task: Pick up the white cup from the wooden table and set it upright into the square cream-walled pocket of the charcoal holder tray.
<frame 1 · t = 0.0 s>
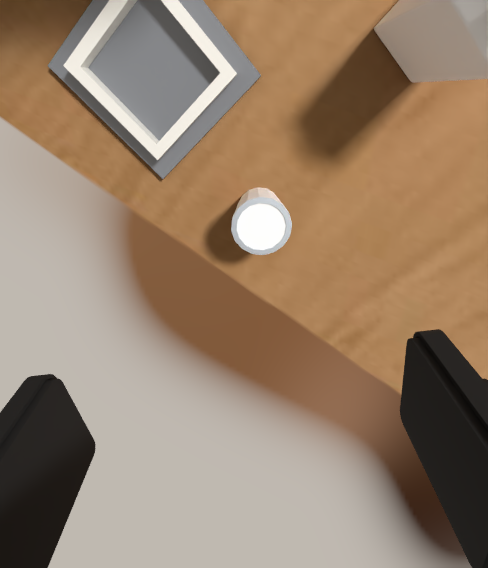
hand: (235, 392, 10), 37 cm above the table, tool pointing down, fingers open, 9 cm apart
white cup: (259, 208, 45), on the table
holder tray: (156, 71, 38), on the table
milk carton: (420, 27, 36), on the table
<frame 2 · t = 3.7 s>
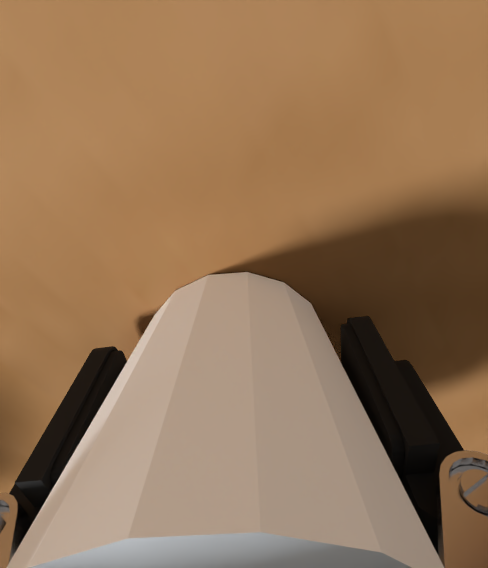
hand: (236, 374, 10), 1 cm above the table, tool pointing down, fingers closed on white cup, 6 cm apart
white cup: (237, 345, 11), on the table, touching gripper
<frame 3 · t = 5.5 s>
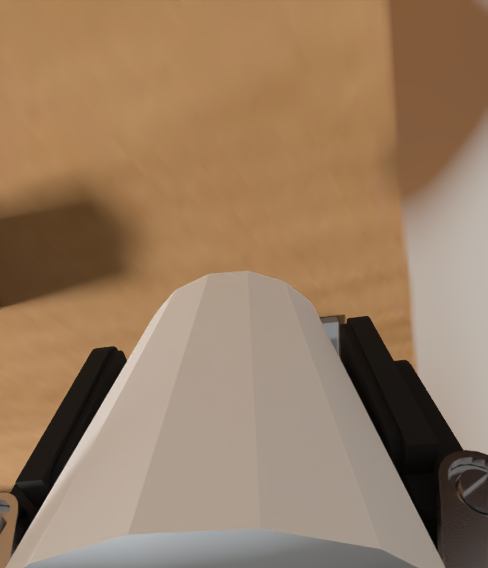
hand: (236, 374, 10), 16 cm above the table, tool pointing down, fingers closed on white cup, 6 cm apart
white cup: (237, 344, 11), point 15 cm above the table, touching gripper
holder tray: (253, 392, 34), on the table
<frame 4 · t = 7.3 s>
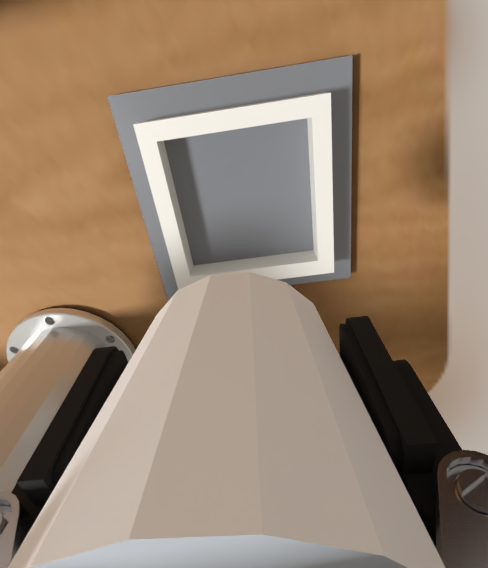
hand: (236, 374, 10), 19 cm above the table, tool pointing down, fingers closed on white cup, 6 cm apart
white cup: (239, 346, 11), point 18 cm above the table, touching gripper
holder tray: (244, 195, 27), on the table
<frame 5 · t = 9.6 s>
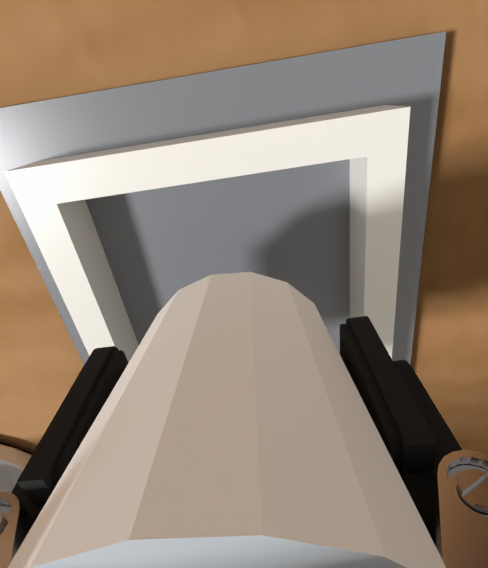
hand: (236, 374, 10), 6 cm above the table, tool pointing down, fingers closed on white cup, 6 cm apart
white cup: (239, 345, 11), point 5 cm above the table, touching gripper
holder tray: (234, 278, 16), on the table
when the fingers open (4 cm above the table, at t = 11.1 s): white cup drops 2 cm, resting on holder tray.
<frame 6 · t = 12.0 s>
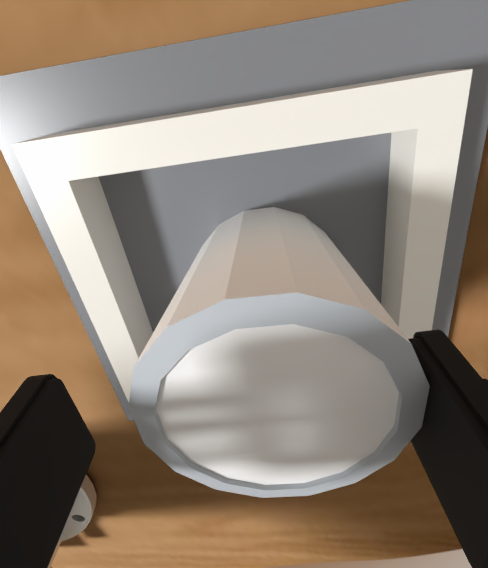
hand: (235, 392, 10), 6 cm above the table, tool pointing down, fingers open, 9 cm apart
white cup: (266, 272, 14), point 1 cm above the table, touching gripper, holder tray
holder tray: (256, 265, 15), on the table
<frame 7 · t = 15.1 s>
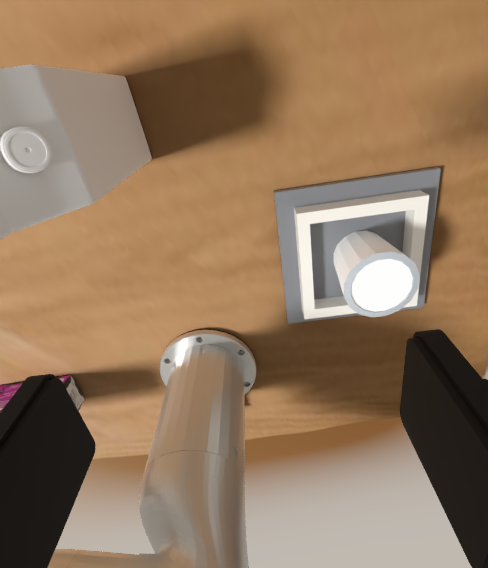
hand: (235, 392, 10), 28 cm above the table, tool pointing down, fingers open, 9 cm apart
white cup: (358, 254, 38), point 1 cm above the table, touching holder tray
candy bar box: (42, 389, 49), on the table
holder tray: (353, 252, 38), on the table
milk carton: (104, 128, 32), on the table
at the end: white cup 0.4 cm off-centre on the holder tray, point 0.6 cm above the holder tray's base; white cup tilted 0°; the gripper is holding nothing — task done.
